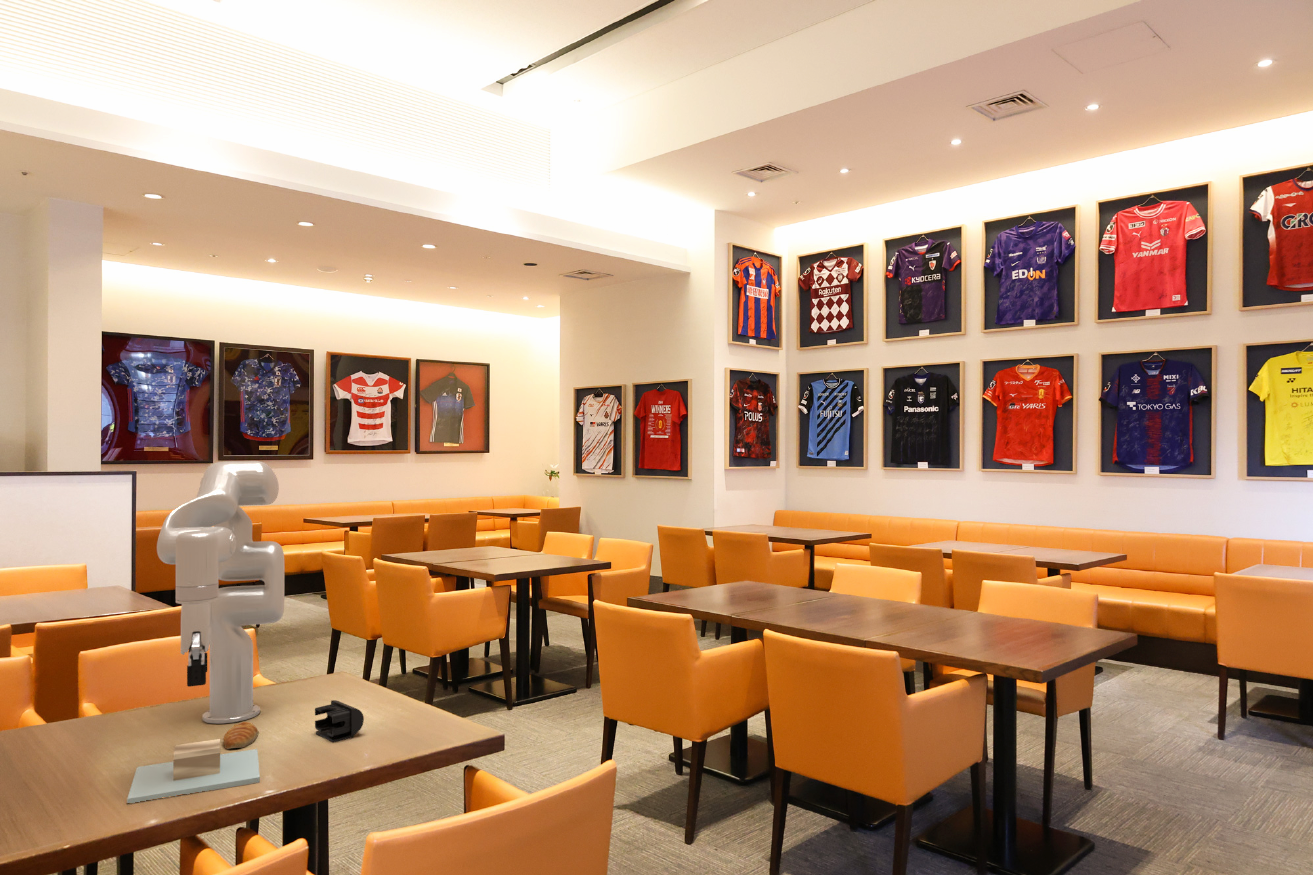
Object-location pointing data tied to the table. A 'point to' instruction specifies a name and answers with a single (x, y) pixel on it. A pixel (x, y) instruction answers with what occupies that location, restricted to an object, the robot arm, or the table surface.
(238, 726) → the pastry
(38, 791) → the table surface
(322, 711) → the end cap
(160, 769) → the base plate
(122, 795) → the table surface
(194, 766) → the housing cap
